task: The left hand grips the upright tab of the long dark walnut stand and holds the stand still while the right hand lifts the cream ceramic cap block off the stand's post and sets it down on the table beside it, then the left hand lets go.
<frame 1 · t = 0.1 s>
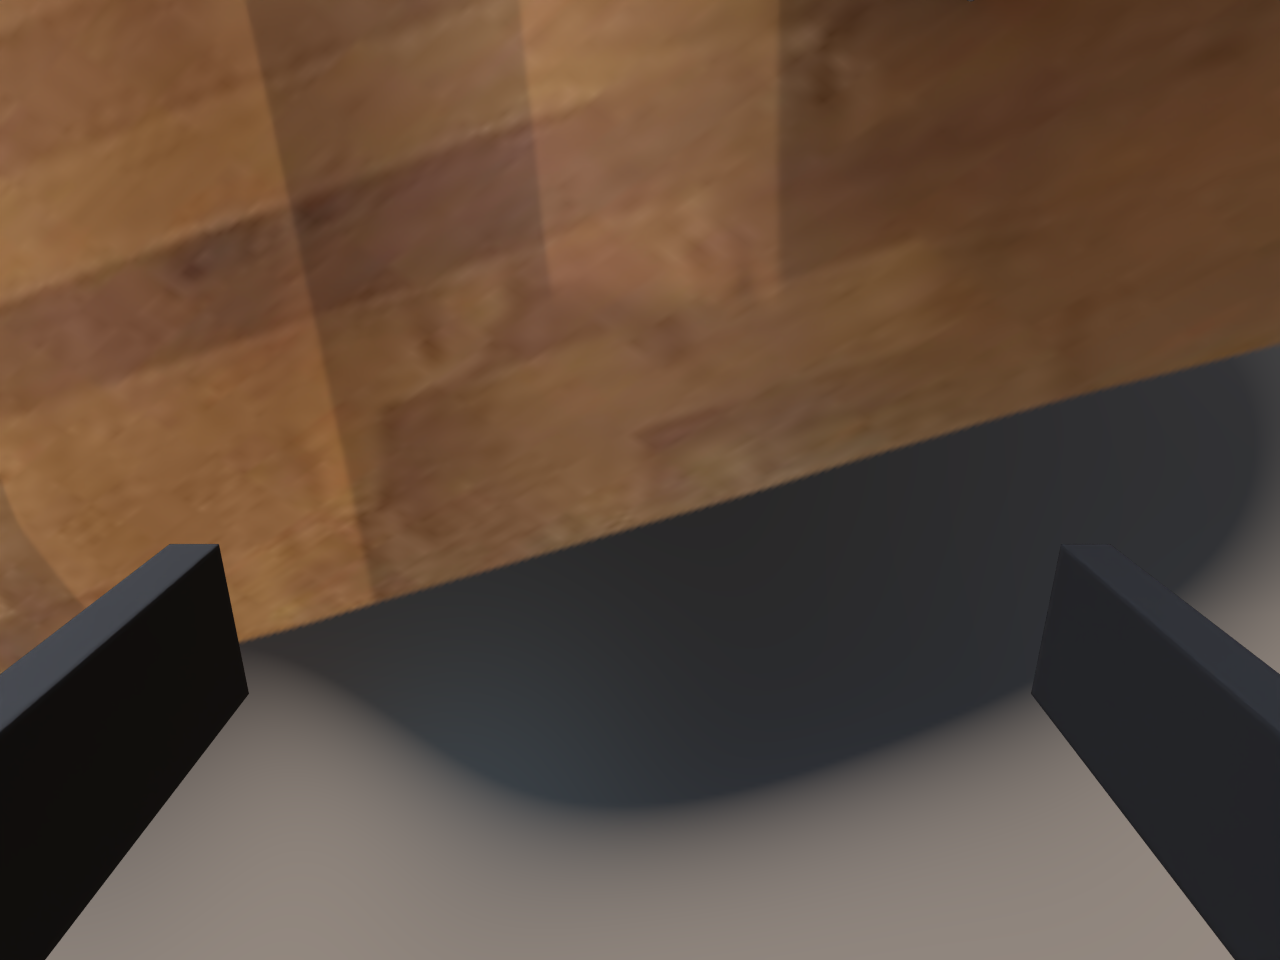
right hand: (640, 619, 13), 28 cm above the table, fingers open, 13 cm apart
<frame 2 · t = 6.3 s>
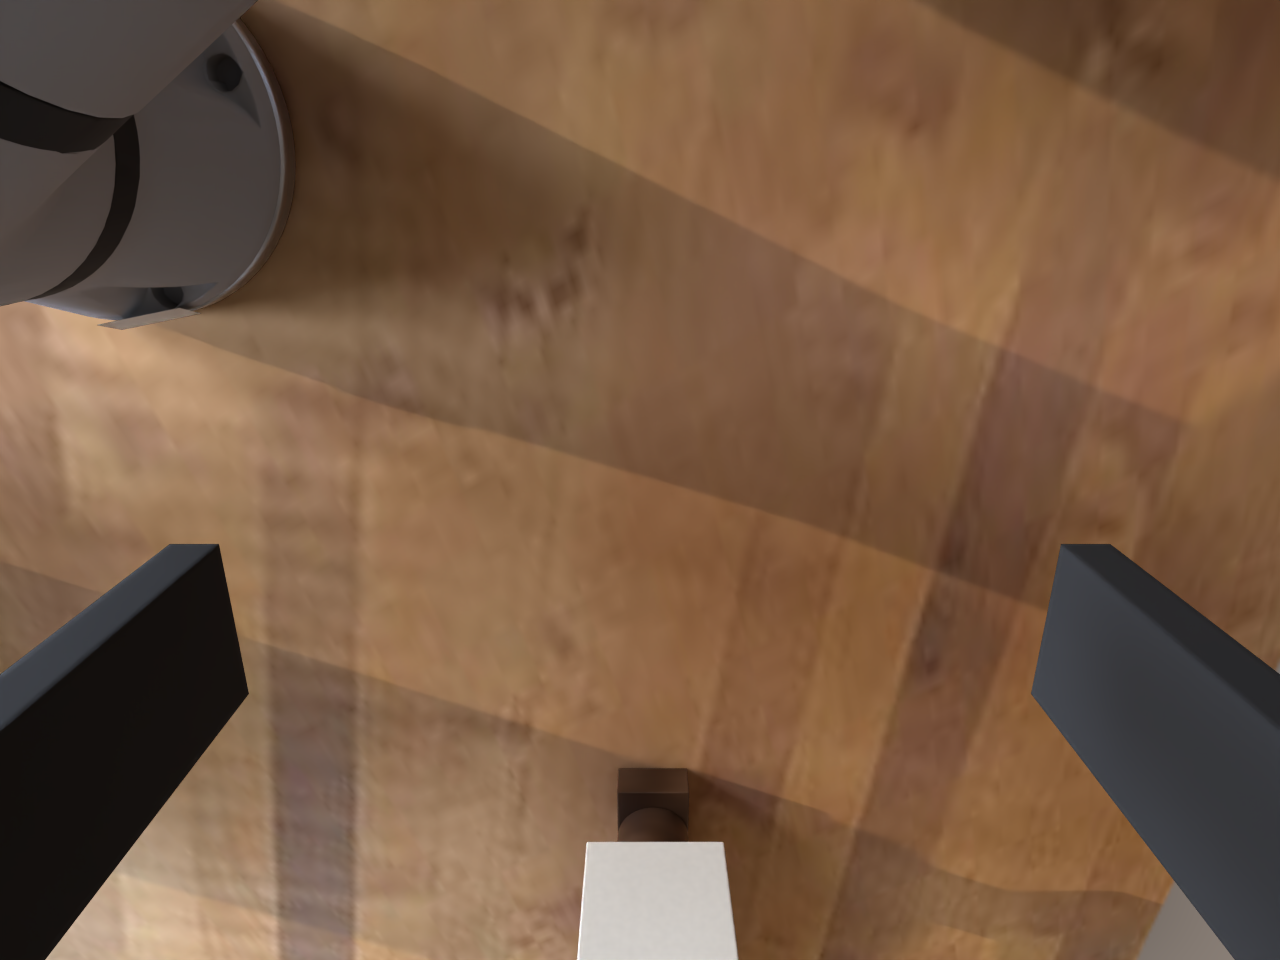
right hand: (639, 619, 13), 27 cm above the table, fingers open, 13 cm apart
cap block: (654, 893, 42), point 6 cm above the table, touching walnut stand
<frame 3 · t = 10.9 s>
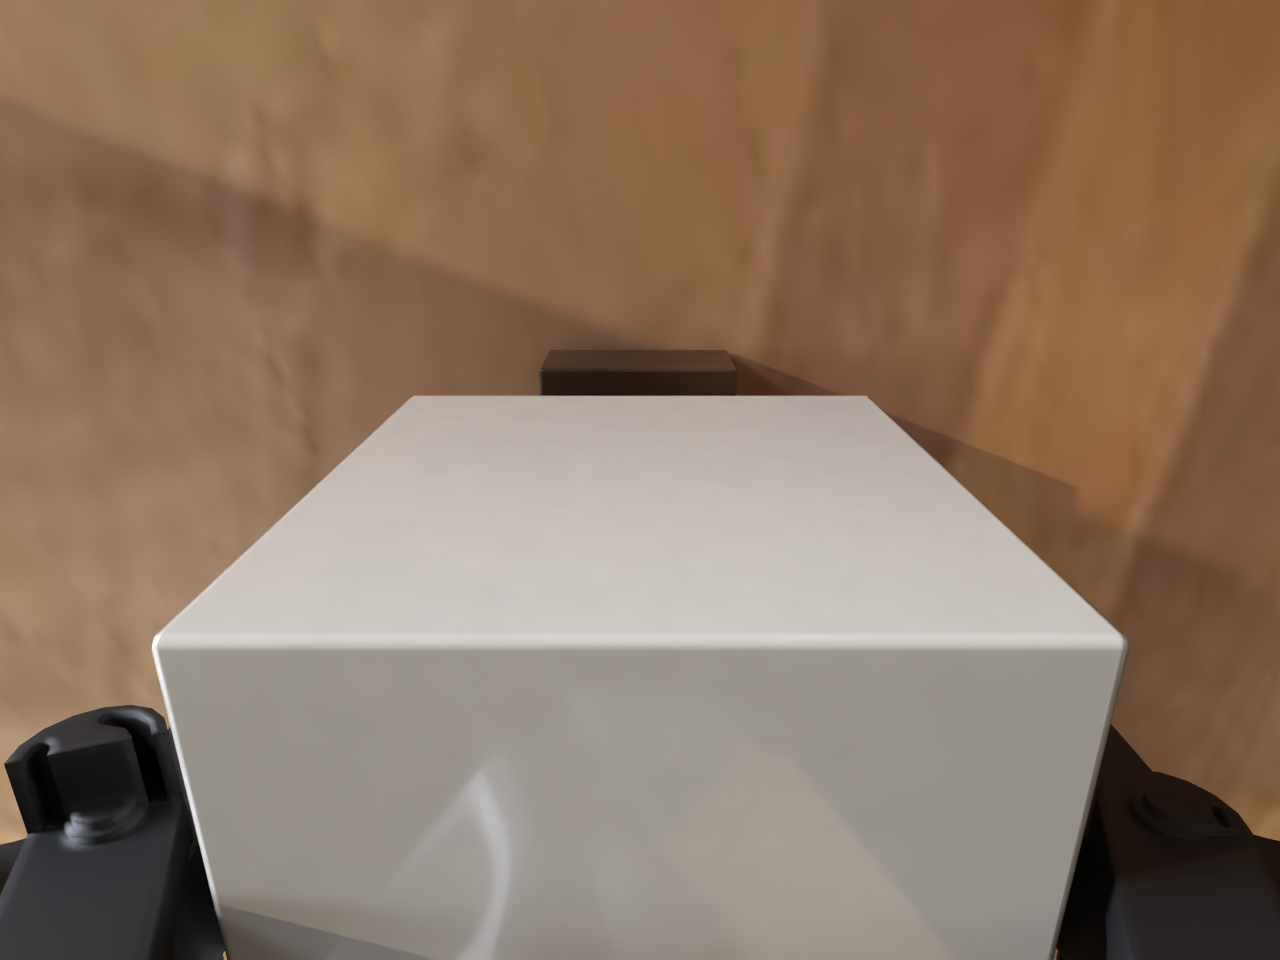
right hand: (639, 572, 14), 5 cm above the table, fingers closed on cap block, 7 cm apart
cap block: (639, 598, 13), point 6 cm above the table, touching right hand, walnut stand
walnut stand: (638, 942, 24), on the table, touching cap block, left hand
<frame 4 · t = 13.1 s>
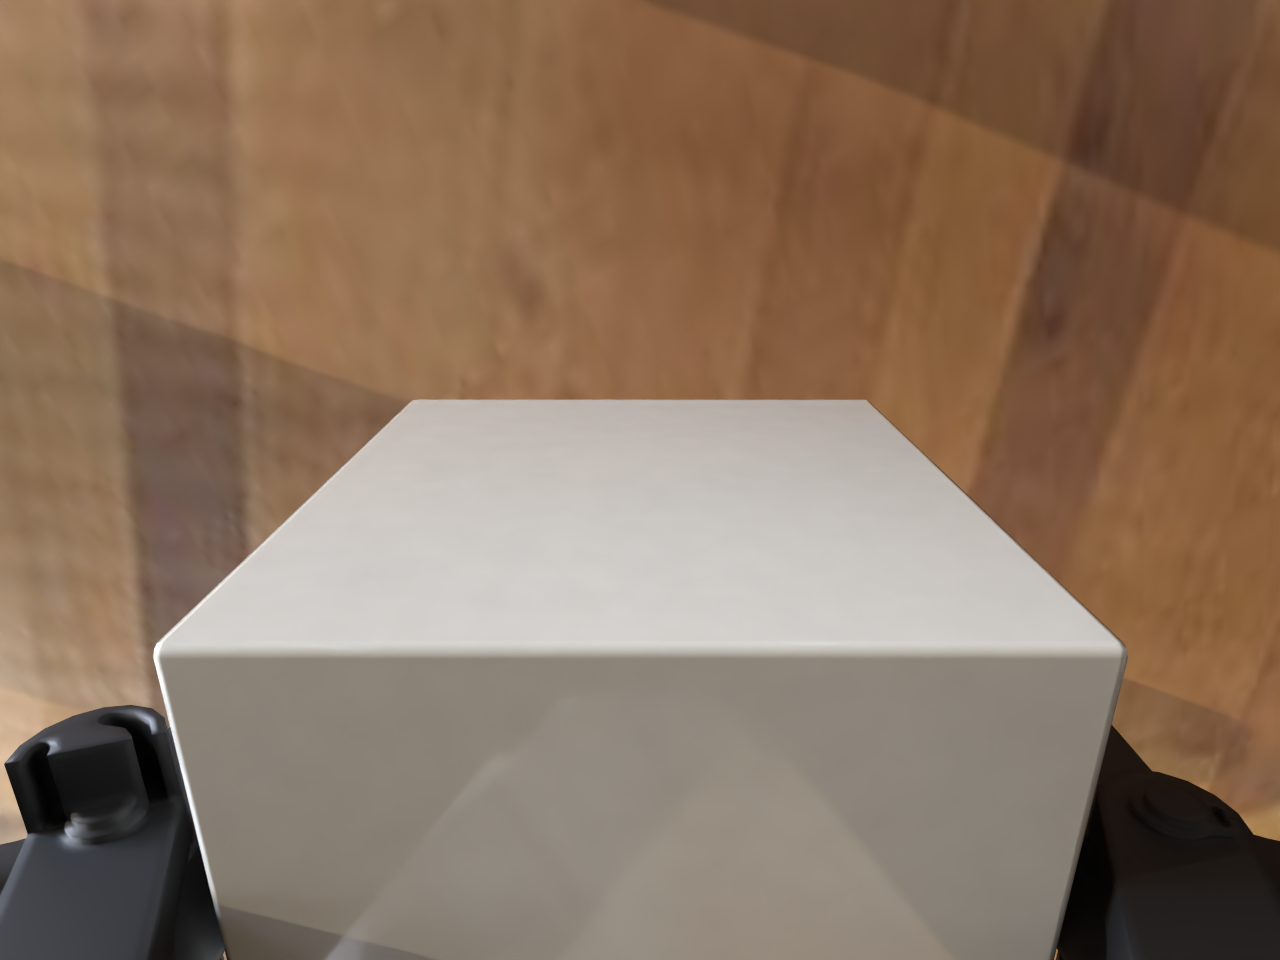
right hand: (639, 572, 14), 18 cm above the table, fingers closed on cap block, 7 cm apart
cap block: (640, 601, 13), point 19 cm above the table, touching right hand
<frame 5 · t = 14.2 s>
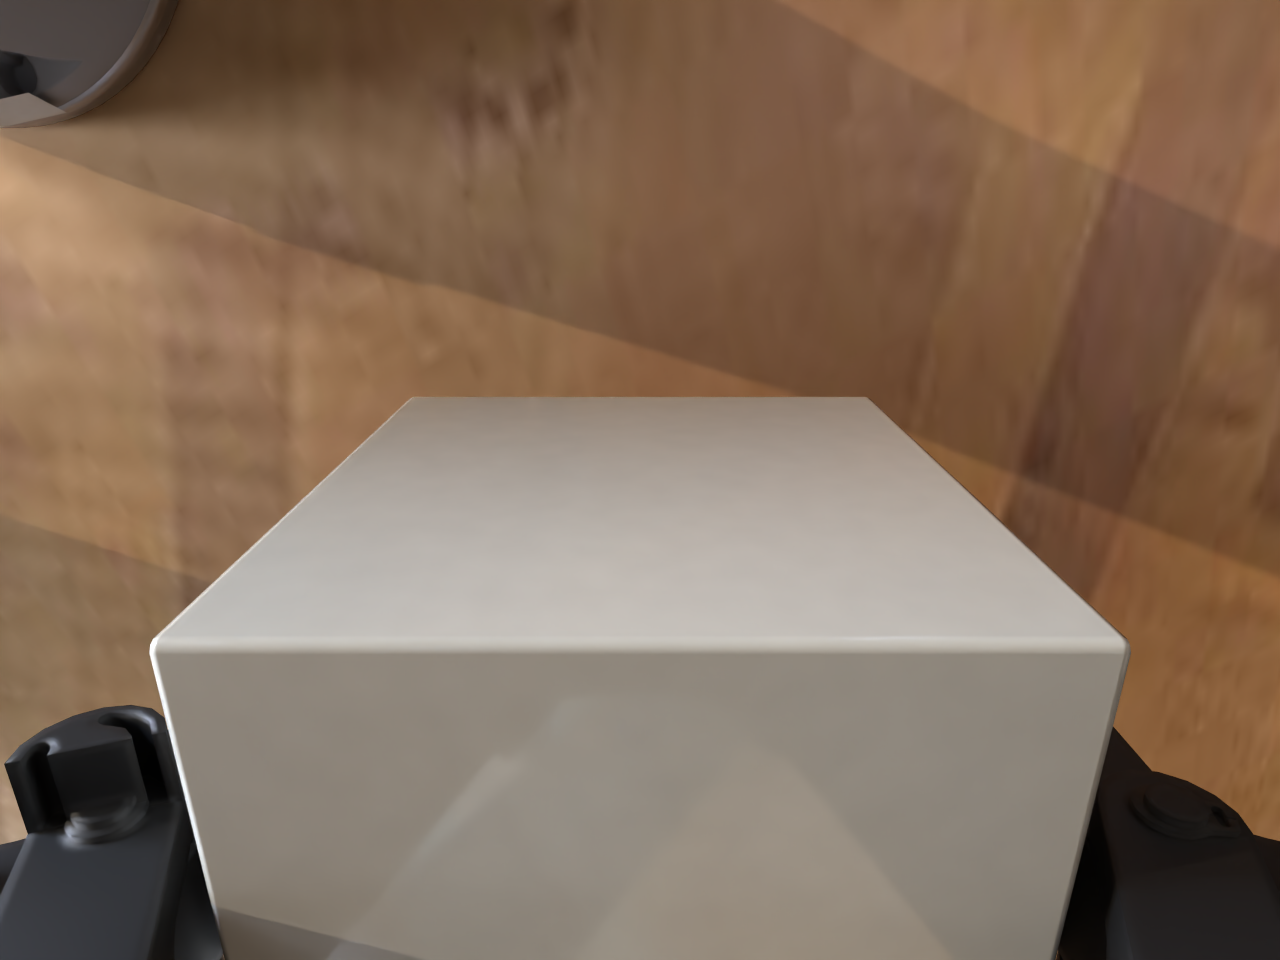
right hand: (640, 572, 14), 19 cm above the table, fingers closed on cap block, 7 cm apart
cap block: (639, 599, 13), point 20 cm above the table, touching right hand
when the right hand's fingers open (2 cm above the table, at t = 17.6 s): cap block drops 2 cm, on the table.
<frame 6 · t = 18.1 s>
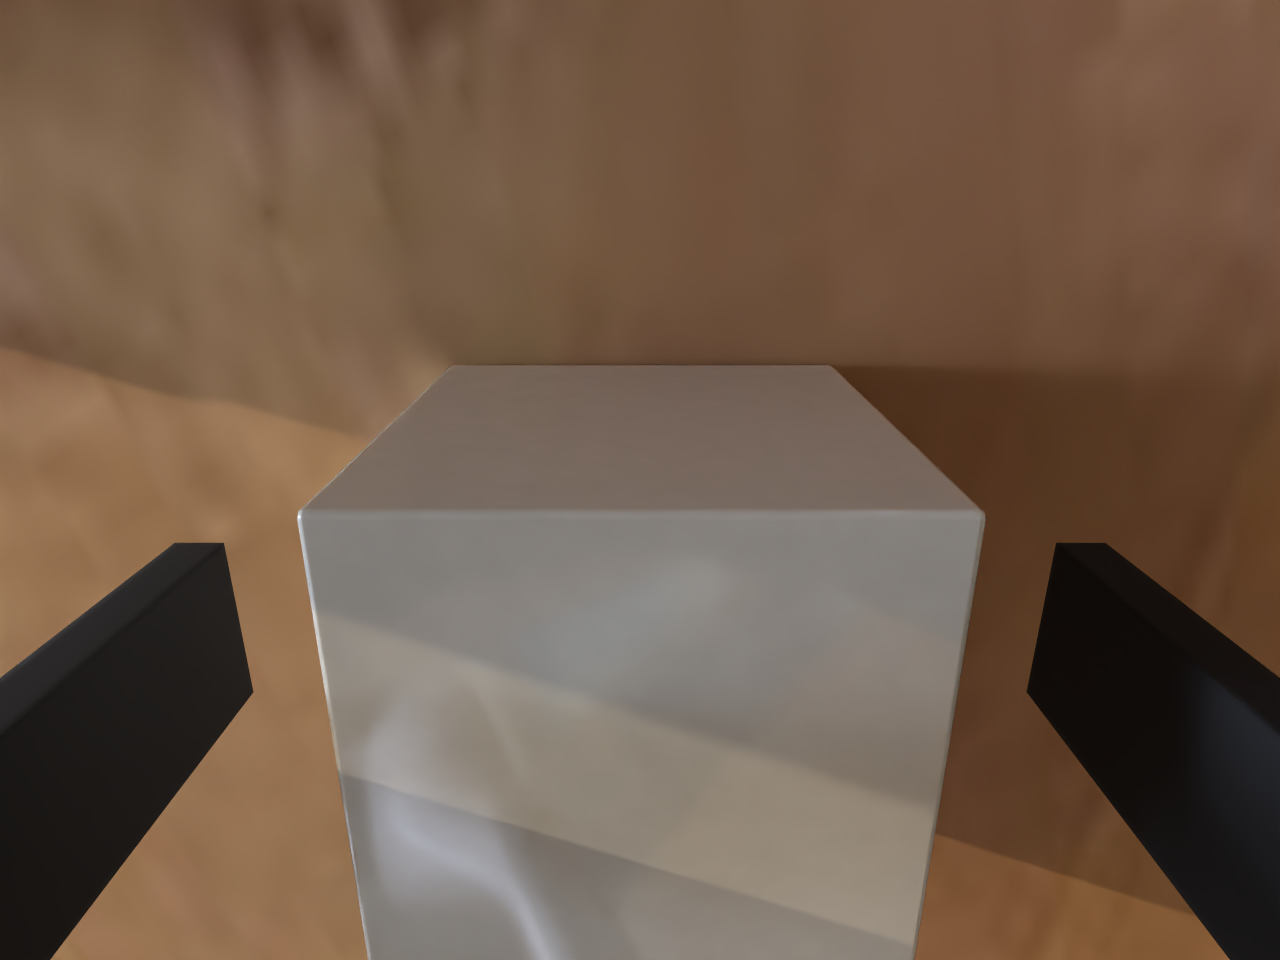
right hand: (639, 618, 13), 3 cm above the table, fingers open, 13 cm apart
cap block: (641, 539, 16), on the table
when the left hand's fingers open (5 cm above the table, at t = 20.1 s): walnut stand stays where it is, on the table.
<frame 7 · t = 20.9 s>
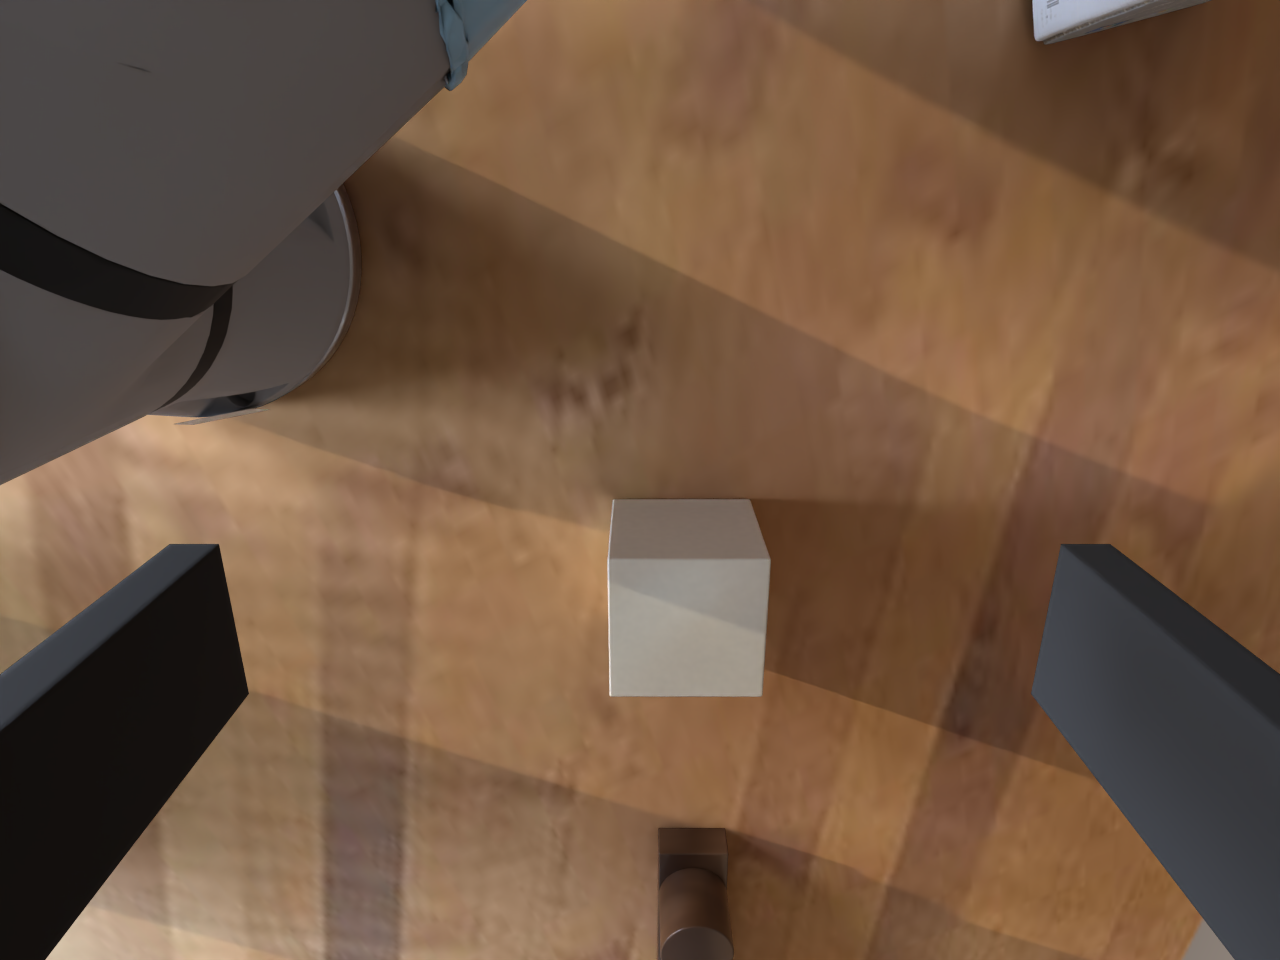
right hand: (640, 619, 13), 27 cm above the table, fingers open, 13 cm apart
cap block: (680, 560, 42), on the table
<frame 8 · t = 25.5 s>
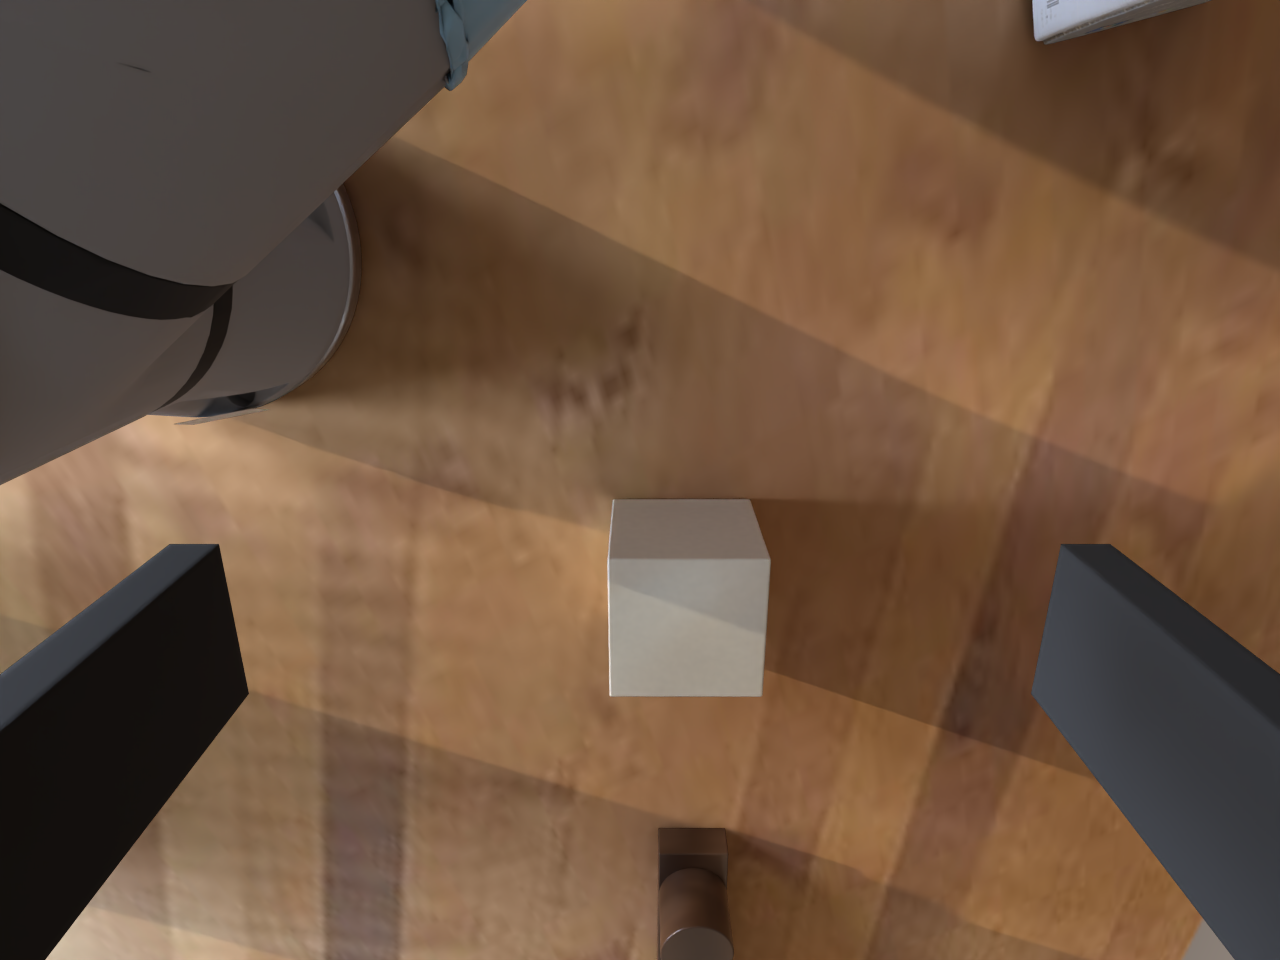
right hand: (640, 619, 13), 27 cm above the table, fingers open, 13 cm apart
cap block: (680, 560, 42), on the table
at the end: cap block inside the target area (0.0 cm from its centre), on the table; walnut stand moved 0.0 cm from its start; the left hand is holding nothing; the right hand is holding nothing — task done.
